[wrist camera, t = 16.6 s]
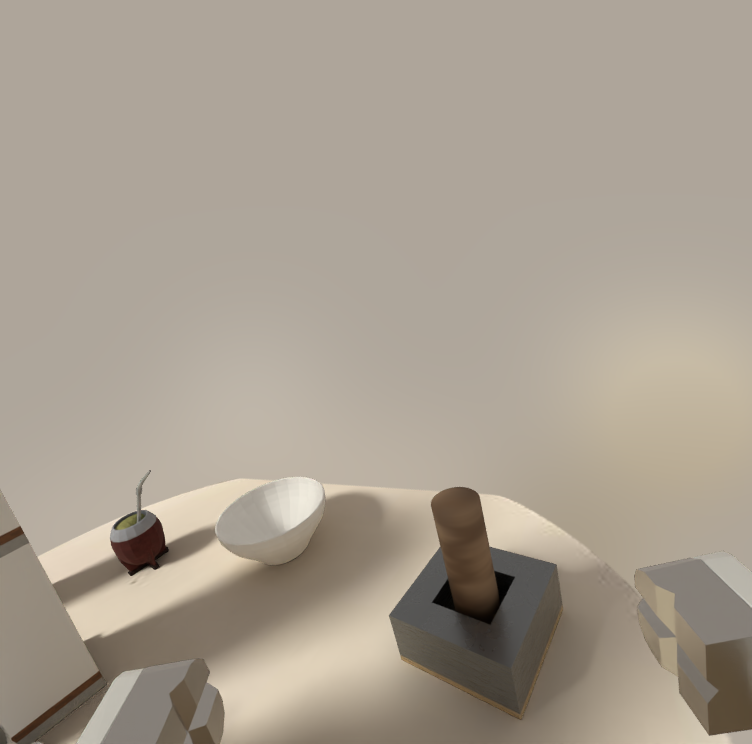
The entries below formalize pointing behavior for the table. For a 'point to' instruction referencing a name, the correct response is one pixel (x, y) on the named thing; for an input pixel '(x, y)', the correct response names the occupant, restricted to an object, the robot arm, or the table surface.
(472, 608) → the walnut pin
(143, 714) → the robot arm
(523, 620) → the socket block
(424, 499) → the table surface
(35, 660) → the striped white pillar
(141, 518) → the mate gourd
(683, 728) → the table surface
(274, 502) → the bowl
